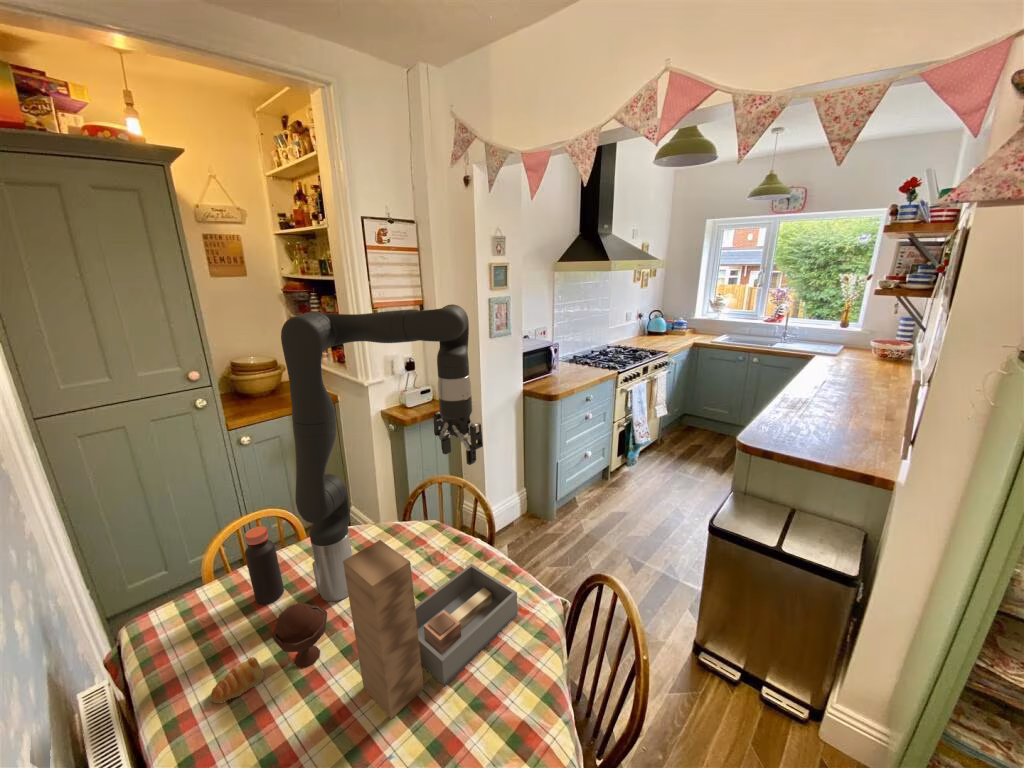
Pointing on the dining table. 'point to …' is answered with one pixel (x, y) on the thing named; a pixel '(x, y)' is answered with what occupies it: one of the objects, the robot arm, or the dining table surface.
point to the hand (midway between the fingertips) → (458, 458)
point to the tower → (385, 625)
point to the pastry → (238, 680)
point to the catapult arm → (455, 621)
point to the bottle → (263, 566)
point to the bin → (474, 631)
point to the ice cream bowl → (301, 632)
